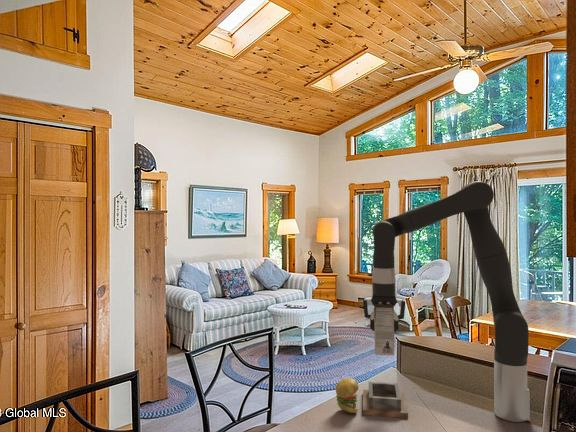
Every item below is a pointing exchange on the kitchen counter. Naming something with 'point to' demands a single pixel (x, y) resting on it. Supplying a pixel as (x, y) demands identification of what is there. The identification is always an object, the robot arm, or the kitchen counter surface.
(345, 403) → the hamburger
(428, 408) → the kitchen counter surface
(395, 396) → the socket stand
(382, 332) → the coffee box
